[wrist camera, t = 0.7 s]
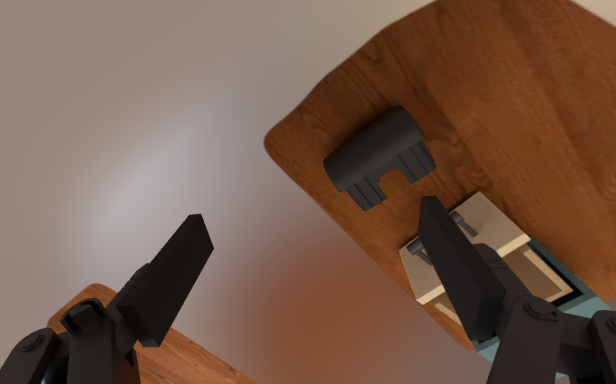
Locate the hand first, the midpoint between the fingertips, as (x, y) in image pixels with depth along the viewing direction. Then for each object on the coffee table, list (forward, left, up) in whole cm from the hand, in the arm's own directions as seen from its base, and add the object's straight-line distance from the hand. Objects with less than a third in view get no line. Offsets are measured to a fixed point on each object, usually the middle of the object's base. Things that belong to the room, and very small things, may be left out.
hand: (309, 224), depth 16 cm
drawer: (+13, +20, -18) cm, 30 cm away
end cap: (+1, +7, -19) cm, 20 cm away
